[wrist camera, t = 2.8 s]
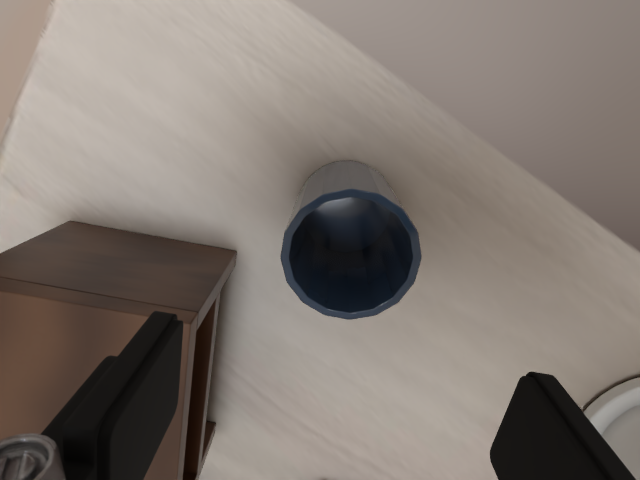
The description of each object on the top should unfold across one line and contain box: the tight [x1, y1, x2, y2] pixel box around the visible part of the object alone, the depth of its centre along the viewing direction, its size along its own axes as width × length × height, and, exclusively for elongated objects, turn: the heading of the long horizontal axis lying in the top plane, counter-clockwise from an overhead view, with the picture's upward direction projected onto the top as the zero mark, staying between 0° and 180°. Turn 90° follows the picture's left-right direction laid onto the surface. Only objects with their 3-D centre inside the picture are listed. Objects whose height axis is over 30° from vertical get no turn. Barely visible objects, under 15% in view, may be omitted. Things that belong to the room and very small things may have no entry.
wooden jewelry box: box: [0, 221, 237, 480], centre depth 27 cm, size 12×17×10 cm
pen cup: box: [281, 161, 421, 319], centre depth 24 cm, size 7×7×9 cm
